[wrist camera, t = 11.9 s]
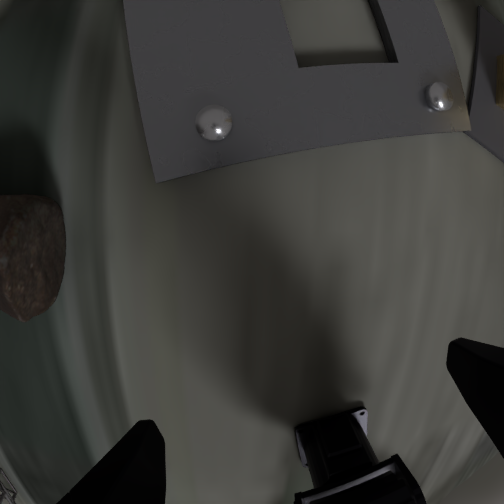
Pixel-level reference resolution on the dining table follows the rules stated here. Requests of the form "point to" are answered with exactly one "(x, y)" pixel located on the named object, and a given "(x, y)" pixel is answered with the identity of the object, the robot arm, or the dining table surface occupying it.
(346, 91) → the square hole plate
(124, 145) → the dining table surface
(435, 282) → the dining table surface
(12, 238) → the dark brown bone
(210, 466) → the dining table surface
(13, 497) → the geometric lantern
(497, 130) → the rubber mat
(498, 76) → the stepped brass square peg
